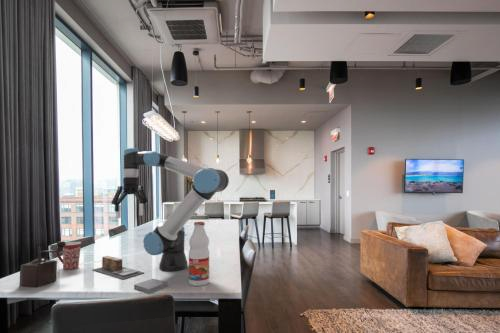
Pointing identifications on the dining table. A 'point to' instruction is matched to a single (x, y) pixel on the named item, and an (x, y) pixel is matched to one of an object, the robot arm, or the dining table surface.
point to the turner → (116, 266)
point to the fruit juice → (199, 256)
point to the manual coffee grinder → (40, 269)
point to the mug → (70, 255)
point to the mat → (114, 274)
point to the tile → (150, 285)
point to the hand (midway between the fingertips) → (130, 216)
